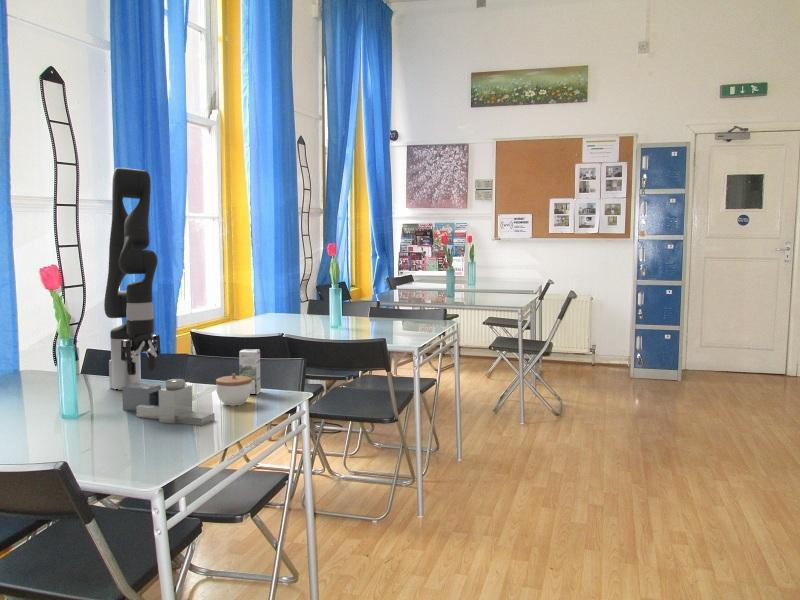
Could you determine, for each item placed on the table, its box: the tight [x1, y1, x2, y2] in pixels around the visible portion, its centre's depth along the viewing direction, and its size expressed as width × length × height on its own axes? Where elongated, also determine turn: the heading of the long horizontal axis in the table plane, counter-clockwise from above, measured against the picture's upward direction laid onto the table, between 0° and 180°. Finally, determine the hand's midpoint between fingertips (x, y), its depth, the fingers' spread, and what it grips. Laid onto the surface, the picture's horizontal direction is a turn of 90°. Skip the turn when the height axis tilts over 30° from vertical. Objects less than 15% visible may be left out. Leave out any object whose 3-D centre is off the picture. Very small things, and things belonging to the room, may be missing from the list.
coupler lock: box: [121, 382, 162, 412], centre depth 201 cm, size 10×6×7 cm, turn 71°
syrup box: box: [238, 348, 262, 394], centre depth 222 cm, size 6×6×14 cm
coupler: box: [136, 378, 216, 426], centre depth 189 cm, size 23×8×11 cm, turn 71°
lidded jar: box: [215, 372, 252, 407], centre depth 208 cm, size 11×11×9 cm
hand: (142, 372), depth 200 cm, fingers open, 8 cm apart
